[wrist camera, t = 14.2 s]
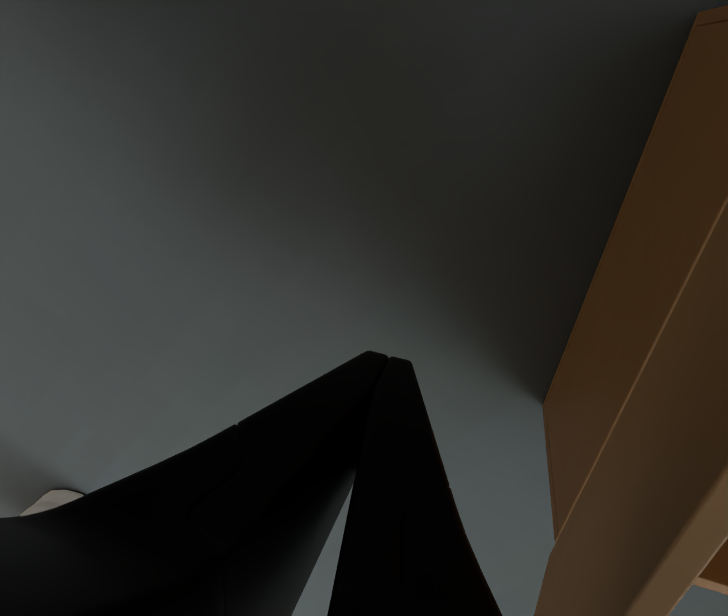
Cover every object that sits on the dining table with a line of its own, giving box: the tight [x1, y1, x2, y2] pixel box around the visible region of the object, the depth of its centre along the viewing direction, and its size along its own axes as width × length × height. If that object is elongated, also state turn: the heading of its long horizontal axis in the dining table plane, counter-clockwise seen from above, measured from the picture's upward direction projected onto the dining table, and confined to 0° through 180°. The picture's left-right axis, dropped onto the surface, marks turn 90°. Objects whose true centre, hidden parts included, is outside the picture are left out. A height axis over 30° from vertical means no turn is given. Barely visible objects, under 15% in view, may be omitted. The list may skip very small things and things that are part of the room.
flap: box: [534, 201, 728, 616], centre depth 9 cm, size 7×16×1 cm
